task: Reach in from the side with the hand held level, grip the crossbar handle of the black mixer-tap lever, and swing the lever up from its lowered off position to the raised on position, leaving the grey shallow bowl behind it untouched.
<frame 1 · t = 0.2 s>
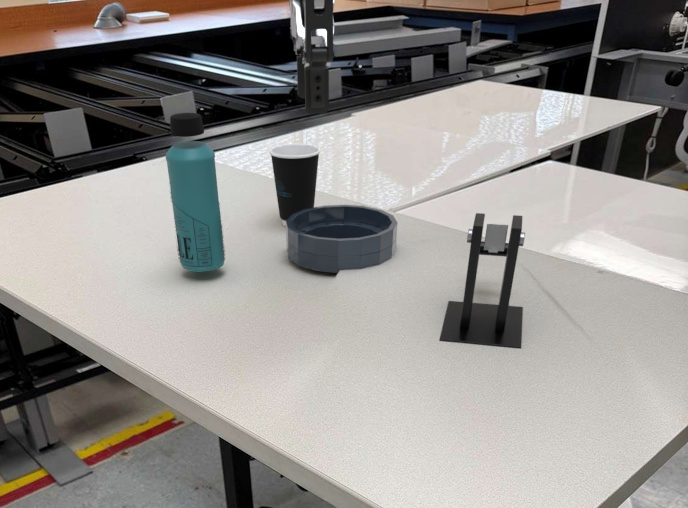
hand: (312, 104, 72), 23 cm above the table, tool pointing down, fingers open, 8 cm apart
dixie cup: (296, 224, 117), on the table
tap lever: (494, 243, 83), point 9 cm above the table, hinge at -25.0°
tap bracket: (481, 331, 85), on the table
beverage bottle: (203, 275, 100), on the table
grey shallow bowl: (340, 256, 104), on the table
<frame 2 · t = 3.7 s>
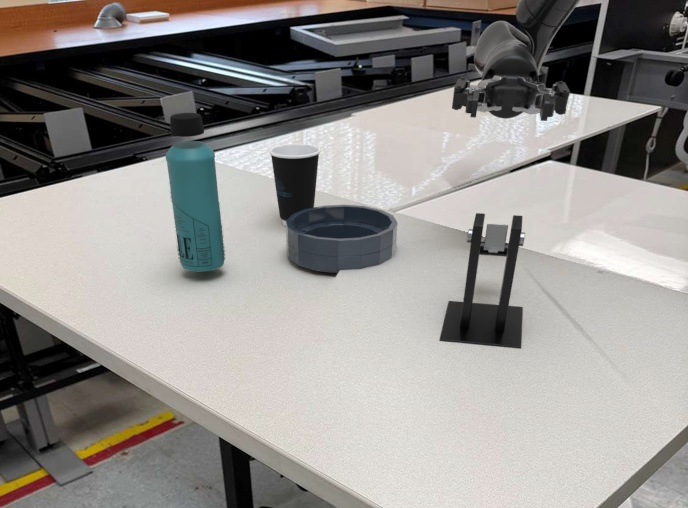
hand: (510, 110, 87), 20 cm above the table, tool horizontal, fingers open, 8 cm apart
nothing on the table moved.
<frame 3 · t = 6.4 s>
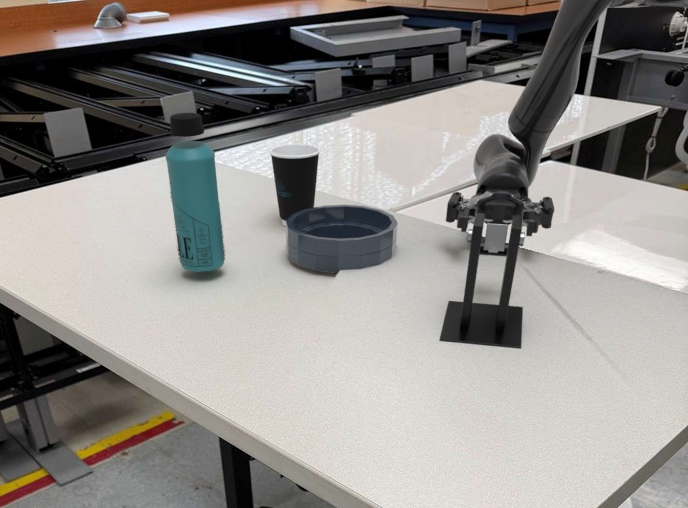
hand: (497, 226, 94), 6 cm above the table, tool horizontal, fingers open, 8 cm apart
nothing on the table moved.
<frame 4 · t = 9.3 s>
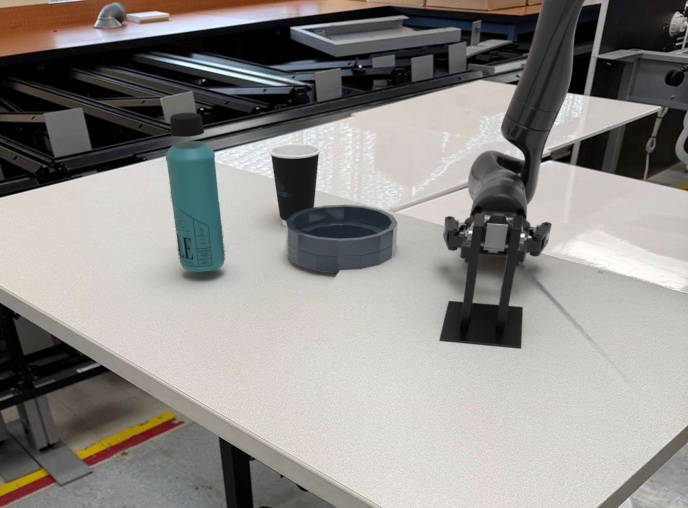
hand: (492, 256, 86), 6 cm above the table, tool horizontal, fingers closed on tap lever, 5 cm apart
tap lever: (494, 243, 83), point 9 cm above the table, hinge at -25.0°, touching gripper
everything else where it was.
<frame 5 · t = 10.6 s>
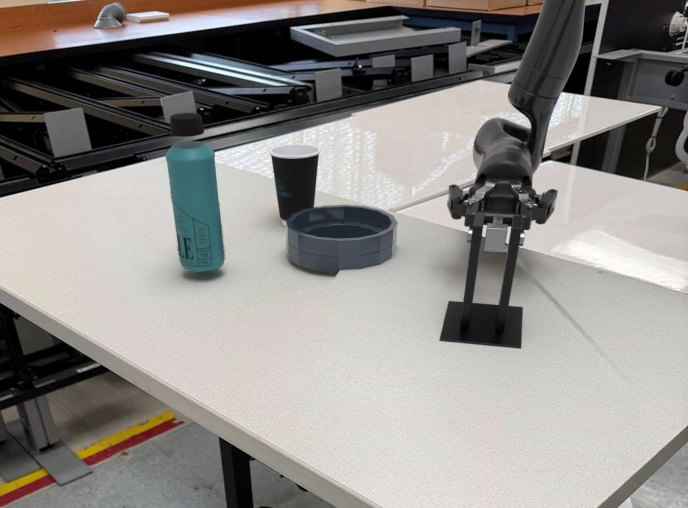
hand: (497, 223, 84), 10 cm above the table, tool horizontal, fingers closed on tap lever, 5 cm apart
tap lever: (496, 228, 82), point 10 cm above the table, hinge at -7.0°, touching gripper
everything else where it was.
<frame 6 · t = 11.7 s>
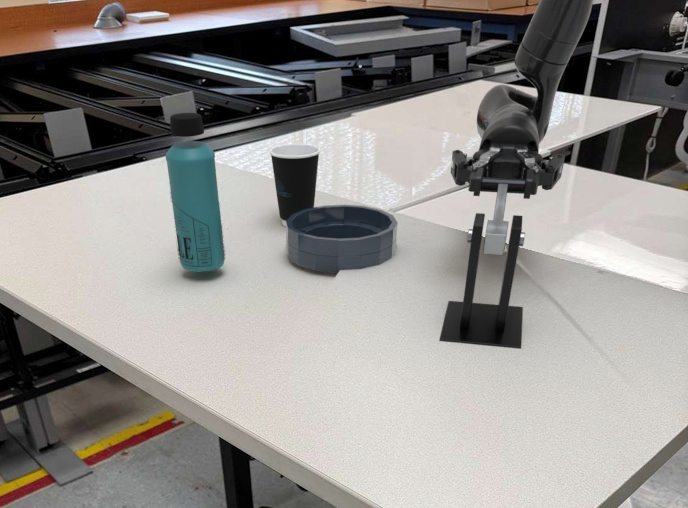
hand: (502, 188, 82), 14 cm above the table, tool horizontal, fingers closed on tap lever, 5 cm apart
tap lever: (499, 211, 81), point 12 cm above the table, hinge at 13.4°, touching gripper
everything else where it was.
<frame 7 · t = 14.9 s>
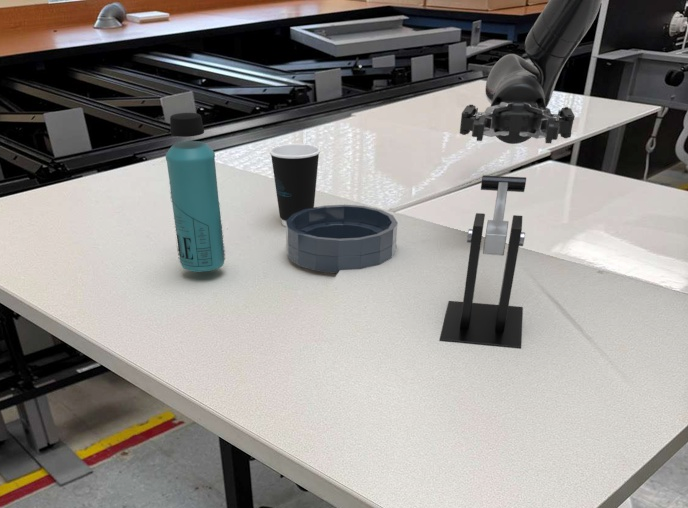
hand: (515, 133, 90), 17 cm above the table, tool horizontal, fingers open, 8 cm apart
tap lever: (499, 211, 81), point 12 cm above the table, hinge at 14.4°
everything else where it was.
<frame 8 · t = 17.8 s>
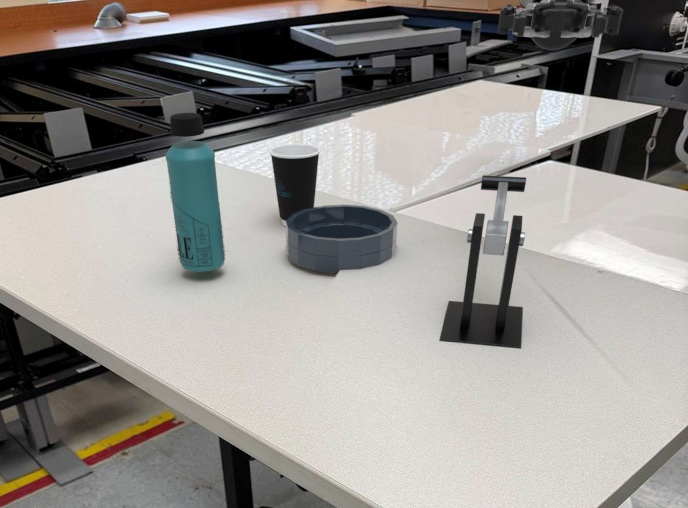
hand: (559, 26, 83), 28 cm above the table, tool horizontal, fingers open, 8 cm apart
nothing on the table moved.
at the end: tap lever at +14° (first picture: -25°); the gripper is holding nothing; tap lever touching nothing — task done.
